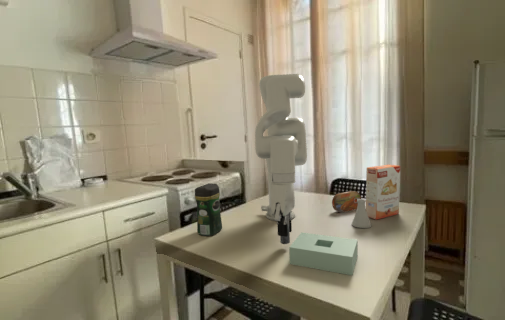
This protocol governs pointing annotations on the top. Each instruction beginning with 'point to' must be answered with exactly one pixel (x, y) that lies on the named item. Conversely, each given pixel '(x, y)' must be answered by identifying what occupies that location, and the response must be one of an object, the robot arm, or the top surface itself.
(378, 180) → the cracker box
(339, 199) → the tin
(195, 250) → the top surface
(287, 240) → the peg
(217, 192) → the coffee jar
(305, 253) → the green block with hole
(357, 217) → the flask
